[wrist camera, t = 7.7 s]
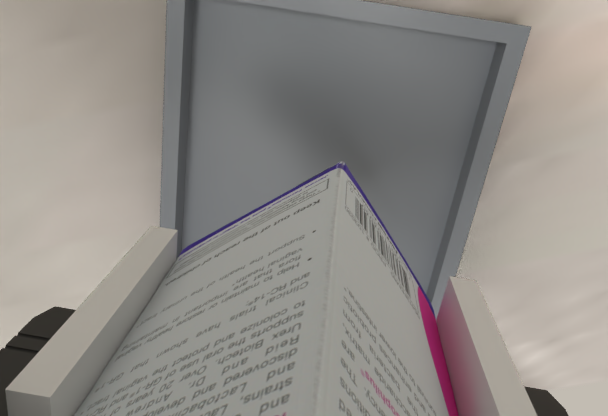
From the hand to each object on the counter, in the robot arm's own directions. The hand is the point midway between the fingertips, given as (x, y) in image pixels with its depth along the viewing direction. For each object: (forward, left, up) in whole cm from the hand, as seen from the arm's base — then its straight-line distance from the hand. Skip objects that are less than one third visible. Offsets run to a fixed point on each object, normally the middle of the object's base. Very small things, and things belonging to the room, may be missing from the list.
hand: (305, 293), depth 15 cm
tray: (0, 0, -13) cm, 13 cm away
